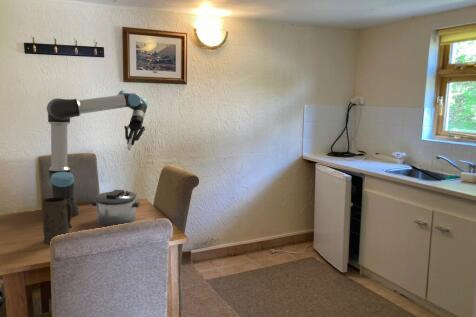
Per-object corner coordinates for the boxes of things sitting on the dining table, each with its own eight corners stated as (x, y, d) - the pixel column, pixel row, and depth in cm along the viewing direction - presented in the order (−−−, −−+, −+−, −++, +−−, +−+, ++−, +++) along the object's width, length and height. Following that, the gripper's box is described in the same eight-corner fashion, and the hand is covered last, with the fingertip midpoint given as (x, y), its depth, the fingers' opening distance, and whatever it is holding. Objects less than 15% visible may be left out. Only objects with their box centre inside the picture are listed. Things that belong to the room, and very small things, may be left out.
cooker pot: (85, 225, 201) (84, 202, 199) (102, 213, 222) (102, 192, 220) (133, 226, 200) (132, 204, 198) (145, 214, 221) (145, 194, 219)
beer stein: (58, 245, 173) (58, 201, 171) (37, 243, 175) (36, 200, 173) (79, 236, 188) (78, 195, 186) (59, 234, 190) (59, 194, 188)
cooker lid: (88, 203, 199) (87, 196, 198) (104, 193, 219) (104, 187, 219) (128, 204, 197) (128, 197, 197) (141, 194, 218) (141, 188, 217)
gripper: (149, 123, 243) (141, 153, 229) (128, 122, 244) (119, 152, 230) (146, 114, 237) (138, 145, 223) (125, 114, 238) (116, 144, 224)
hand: (128, 148), depth 227 cm, fingers closed
